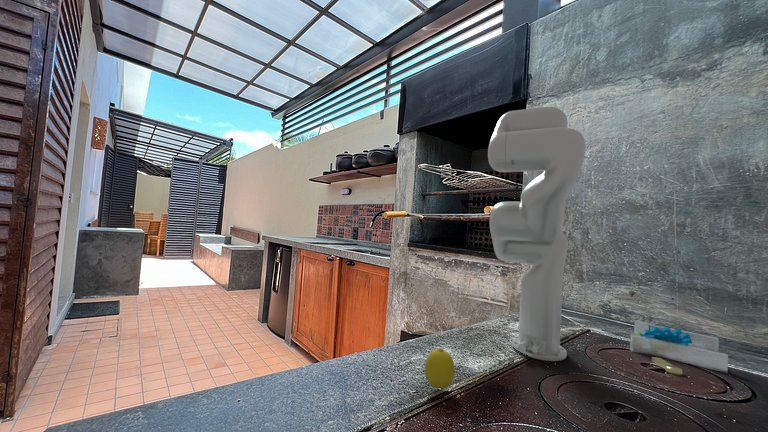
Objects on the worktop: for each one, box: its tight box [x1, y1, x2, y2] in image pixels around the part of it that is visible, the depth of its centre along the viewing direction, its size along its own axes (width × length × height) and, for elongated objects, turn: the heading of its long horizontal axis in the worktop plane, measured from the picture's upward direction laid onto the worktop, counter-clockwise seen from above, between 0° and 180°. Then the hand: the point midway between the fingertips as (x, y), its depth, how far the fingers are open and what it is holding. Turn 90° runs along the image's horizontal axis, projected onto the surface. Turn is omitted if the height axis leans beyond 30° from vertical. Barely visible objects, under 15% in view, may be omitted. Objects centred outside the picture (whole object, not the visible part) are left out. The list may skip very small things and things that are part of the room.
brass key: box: [651, 356, 683, 376], centre depth 72 cm, size 7×3×1 cm, turn 173°
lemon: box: [424, 347, 456, 390], centre depth 59 cm, size 6×6×8 cm
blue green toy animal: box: [636, 326, 692, 346], centre depth 81 cm, size 11×6×10 cm
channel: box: [629, 319, 729, 374], centre depth 83 cm, size 20×18×4 cm
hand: (544, 244), depth 98 cm, fingers closed
